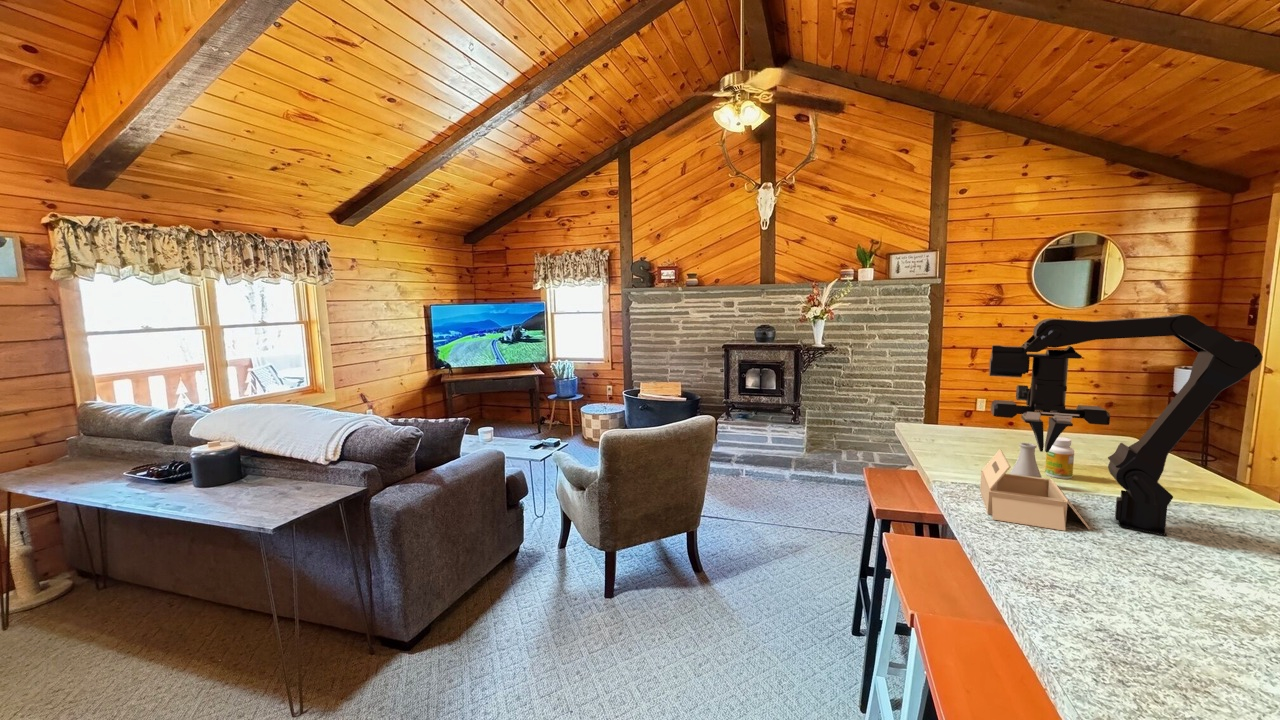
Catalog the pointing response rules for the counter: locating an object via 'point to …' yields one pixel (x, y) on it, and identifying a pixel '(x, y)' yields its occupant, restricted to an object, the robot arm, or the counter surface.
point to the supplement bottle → (1060, 459)
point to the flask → (1026, 461)
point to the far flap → (996, 468)
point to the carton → (1027, 501)
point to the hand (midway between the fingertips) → (1043, 451)
